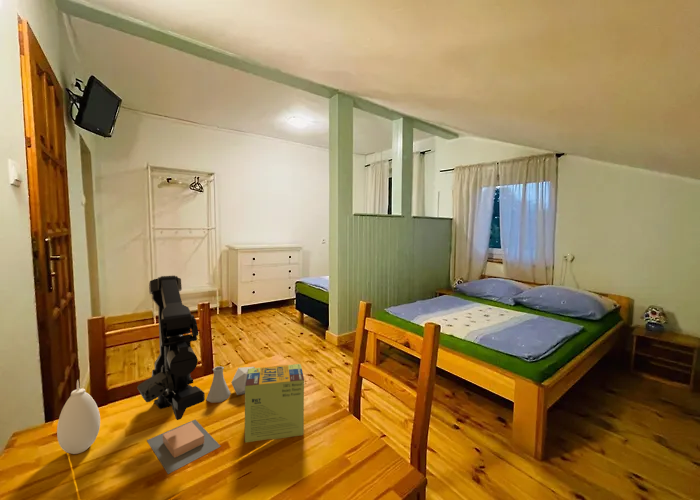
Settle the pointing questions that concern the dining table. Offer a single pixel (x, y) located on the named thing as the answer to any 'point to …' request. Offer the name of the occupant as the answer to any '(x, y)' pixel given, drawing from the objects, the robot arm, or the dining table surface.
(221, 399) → the flask
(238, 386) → the pale grey faceted chunk
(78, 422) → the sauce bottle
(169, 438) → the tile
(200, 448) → the mat
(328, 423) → the dining table surface
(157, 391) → the robot arm
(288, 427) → the protein box
